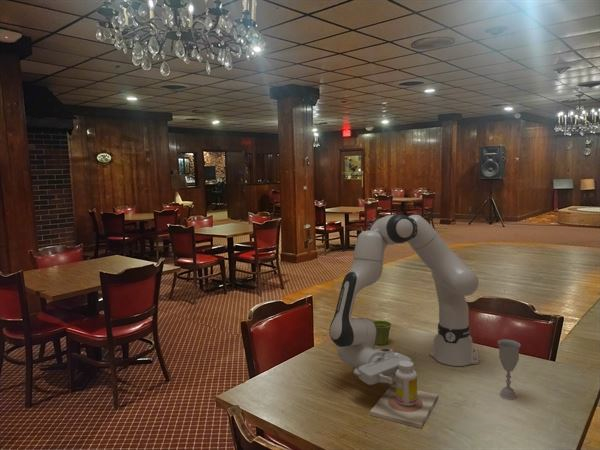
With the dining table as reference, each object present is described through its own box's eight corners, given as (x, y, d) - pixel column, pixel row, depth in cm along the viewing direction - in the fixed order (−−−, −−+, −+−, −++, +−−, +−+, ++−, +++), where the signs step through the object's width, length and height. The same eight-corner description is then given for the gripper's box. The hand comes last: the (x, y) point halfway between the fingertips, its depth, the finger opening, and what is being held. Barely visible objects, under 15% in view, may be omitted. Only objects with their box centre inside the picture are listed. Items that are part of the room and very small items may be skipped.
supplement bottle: (417, 398, 143) (417, 360, 141) (416, 408, 136) (416, 368, 135) (397, 395, 145) (396, 358, 143) (394, 405, 139) (394, 366, 137)
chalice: (522, 402, 140) (523, 348, 139) (499, 400, 142) (500, 347, 140) (516, 391, 148) (517, 339, 146) (494, 389, 149) (495, 339, 147)
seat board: (391, 387, 153) (391, 383, 153) (438, 398, 145) (438, 394, 145) (370, 415, 136) (370, 410, 136) (421, 428, 128) (421, 424, 128)
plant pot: (395, 342, 195) (395, 323, 194) (384, 348, 188) (383, 329, 187) (378, 337, 201) (377, 319, 200) (366, 343, 194) (365, 324, 193)
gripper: (350, 362, 145) (379, 376, 134) (393, 347, 157) (423, 359, 145) (350, 380, 146) (379, 396, 135) (393, 364, 157) (424, 377, 146)
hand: (403, 377), depth 140 cm, fingers open, 8 cm apart
